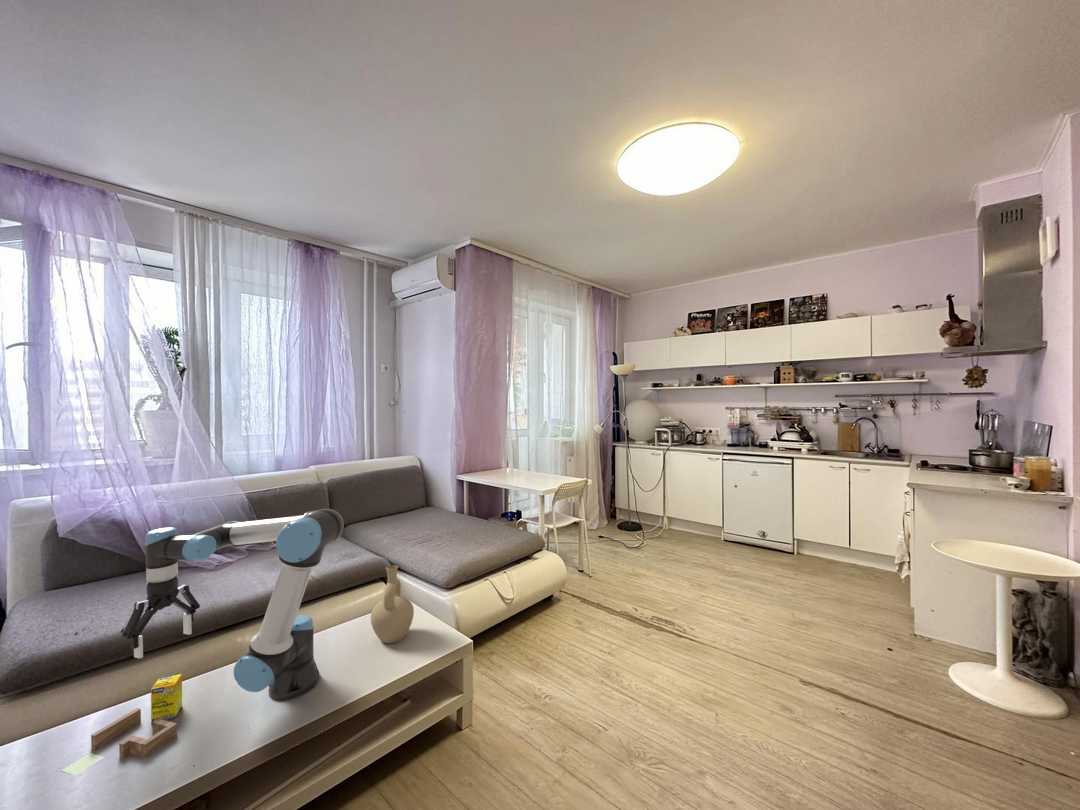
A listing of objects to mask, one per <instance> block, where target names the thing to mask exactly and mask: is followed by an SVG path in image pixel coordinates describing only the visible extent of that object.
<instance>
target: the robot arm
mask: <svg viewBox="0 0 1080 810" xmlns="http://www.w3.org/2000/svg"><path fill="white" fill-rule="evenodd" d="M344 523H345V522H344V518H343V517H342V515H341V514H340V513H339V512H338V511H336V510H335V509H332V508H322V509H317V510H310V511H307V512H305V513H304V514H301V515H291V516H286V517H285V516H284V517H277V518H276V517H275V518H266V519H257V520H248V521H238V520H233V521H227V522H224V523H222V524H219V525H216V526H213V527H211V528H208V529H205V530H203V531H198V532H196V533H194V534H185V535H181V534H179V533H178V530H177V528H176V527H173V526H172V527H171V526H168V527H161V528H155V529H153V530H150V531H148V532H147V533H146V534H145V543H144V550H145V570H146V571H145V573H146V575H145V576H146V577H145V578H146V581H147V582H146V596H147V598H146V600H142V601H135V602H134V606H133V611H132V614H131V615H130V618H129V619H128V622H127V624H126V625H125V627H124V628H125V629H124V631H123V633H122V635H121V638H122V639H127V640H129V642H130V648H131V649H133V657H134V658H136V659H143V658H144V643H143V642H144V641H143V640H144V638H143V635H141V634H142V633H143V631H144V630H145V628H146V627H147V625H148V623H149V622H150V621H151V619H152V618H153V616H154V615H155V614H156V613H157V612H158V610H159V611H161V610H164V609H165V608H168V607H170V606H172V605H174V606H176V607H178V609H180V610H182V611H184V612H185V613H182V625H183V627H182V628H183V633H182V634H183V635H192V634H193V633H192V632H193V631H192V623H193V622H194V619H195V618H194V614H196V612H197V610H198V609H200V607H201V605H200V603H199V602H198V600H197V599H196V598H195V596H194V595H193V593H192V592H191V590H190V586H189V585H188V584H181V585H179V575H178V574H179V564H178V562H179V561H192V562H195V561H196V562H197V561H203V560H207V559H208V558H210V557H211V556H212V555H214V553H215V551H218V550H220V549H222V548H225V547H230V546H237V545H238V546H241V545H248V544H259V543H267V542H268V543H269V542H275V548H276V550H278V551H277V554H278V561H279V562H280V563H281V566H280V569H279V571H278V575H277V578H276V581H275V584H274V587H273V589H272V593H271V596H270V600H269V602H268V605H267V607H266V612H265V615H264V617H263V620H262V623H261V626H260V629H259V631H258V632H256V633H255V634H254V635H253V636H252V637H251V640H250V641H249V645H248V648H247V650H246V653H245V655H243V656H241V657H240V658H239V659H237V661H236V663H235V664H234V667H233V678H234V680H235V681H236V684H237V685H238V686H239V687H240V688H241V689H243V690H245V691H246V692H249V693H258V692H262V691H264V690H265V689H266V688H268V697H269V699H271V700H274V701H277V702H280V701H281V702H283V701H284V702H285V701H288V700H289V701H290V700H293V699H296V698H300V697H302V696H304V695H305V694H307V693H309V692H310V691H312V690H313V689H314V688H315V687H316V686H317V685H318V684H319V682H320V677H321V676H320V675H321V674H320V671H319V668H318V667H317V665H318V664H317V663H316V661H315V658H314V629H315V626H314V619H313V618H312V617H310V616H309V615H301V614H300V615H298V612H299V609H300V607H301V603H302V600H303V597H304V595H305V591H306V588H307V585H308V582H309V580H310V576H311V573H312V570H313V568H315V567H316V566H318V565H319V564H320V562H321V560H322V557H323V554H324V550H325V549H326V547H327V546H330V545H331V544H333V543H334V542H336V541H337V540H338V539H339V538H340V537H341V536H342V534H343V531H344V528H345V527H344ZM179 594H181V595H182V597H183V598H184V599H185V601H186V602H187V604H186V603H185V602H183V601H182V600H181V599H180V598H178V595H179ZM188 604H189V605H188ZM145 608H146V609H145Z"/></svg>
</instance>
